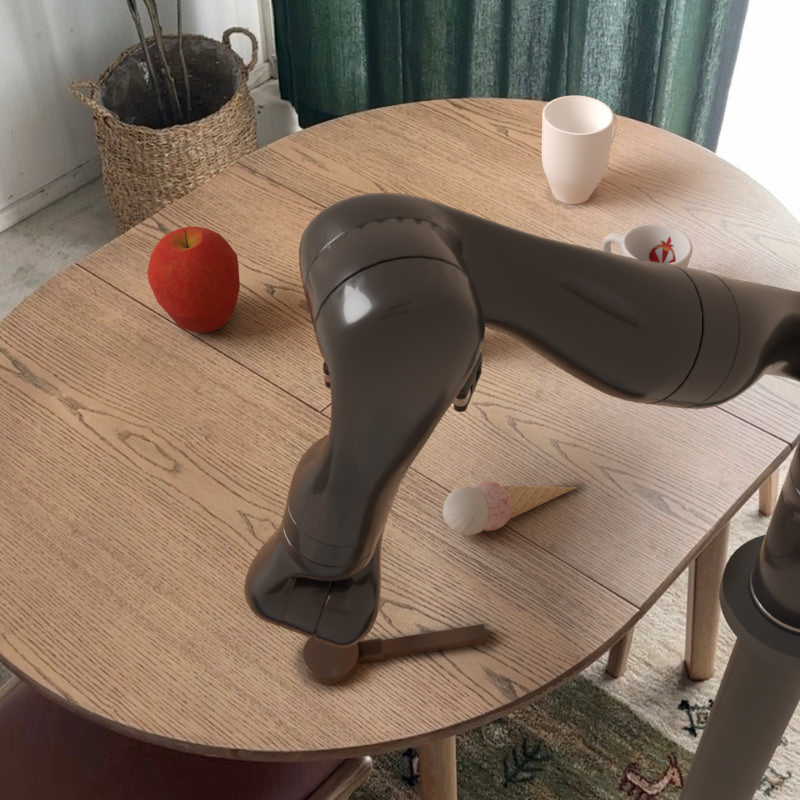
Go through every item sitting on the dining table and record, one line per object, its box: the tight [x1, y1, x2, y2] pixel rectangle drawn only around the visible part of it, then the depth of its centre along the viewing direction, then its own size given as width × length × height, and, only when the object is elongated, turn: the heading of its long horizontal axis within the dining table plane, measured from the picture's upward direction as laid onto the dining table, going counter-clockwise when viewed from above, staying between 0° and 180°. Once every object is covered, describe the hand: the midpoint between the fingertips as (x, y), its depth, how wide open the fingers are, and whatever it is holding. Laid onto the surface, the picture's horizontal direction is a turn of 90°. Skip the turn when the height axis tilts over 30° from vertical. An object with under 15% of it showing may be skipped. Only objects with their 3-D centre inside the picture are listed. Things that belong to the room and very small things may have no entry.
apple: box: [146, 226, 241, 334], centre depth 122 cm, size 10×10×14 cm
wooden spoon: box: [302, 623, 488, 687], centre depth 95 cm, size 16×5×1 cm, turn 99°
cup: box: [600, 222, 693, 268], centre depth 124 cm, size 11×8×8 cm
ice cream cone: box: [442, 481, 578, 536], centre depth 104 cm, size 5×5×15 cm
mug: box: [541, 95, 618, 205], centre depth 138 cm, size 12×9×12 cm
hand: (422, 316), depth 104 cm, fingers open, 8 cm apart
